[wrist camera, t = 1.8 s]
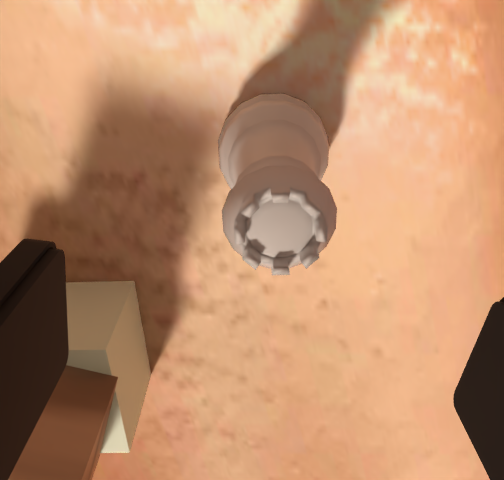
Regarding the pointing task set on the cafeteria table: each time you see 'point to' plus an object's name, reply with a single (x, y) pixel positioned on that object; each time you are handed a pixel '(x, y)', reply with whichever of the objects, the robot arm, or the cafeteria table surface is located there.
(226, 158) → the rook chess piece
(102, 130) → the cafeteria table surface
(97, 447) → the top block
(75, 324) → the base block
